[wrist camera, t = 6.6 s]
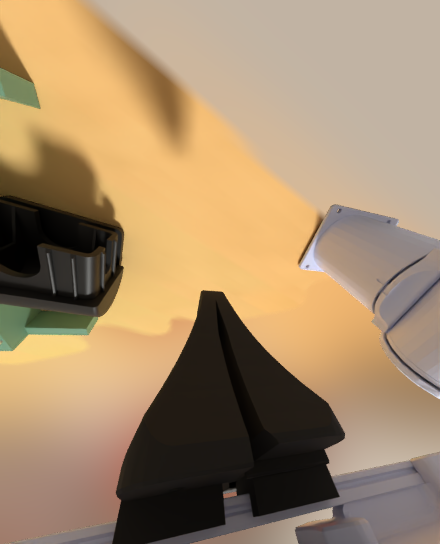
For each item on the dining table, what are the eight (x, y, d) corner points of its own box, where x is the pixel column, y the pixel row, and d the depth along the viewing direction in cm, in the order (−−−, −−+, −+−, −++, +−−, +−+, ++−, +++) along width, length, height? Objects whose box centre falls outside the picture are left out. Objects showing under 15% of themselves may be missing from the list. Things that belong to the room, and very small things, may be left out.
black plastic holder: (15, 262, 17) (-74, 313, 11) (-5, 190, 13) (-147, 212, 8) (124, 284, 20) (96, 332, 14) (130, 230, 16) (97, 265, 11)
